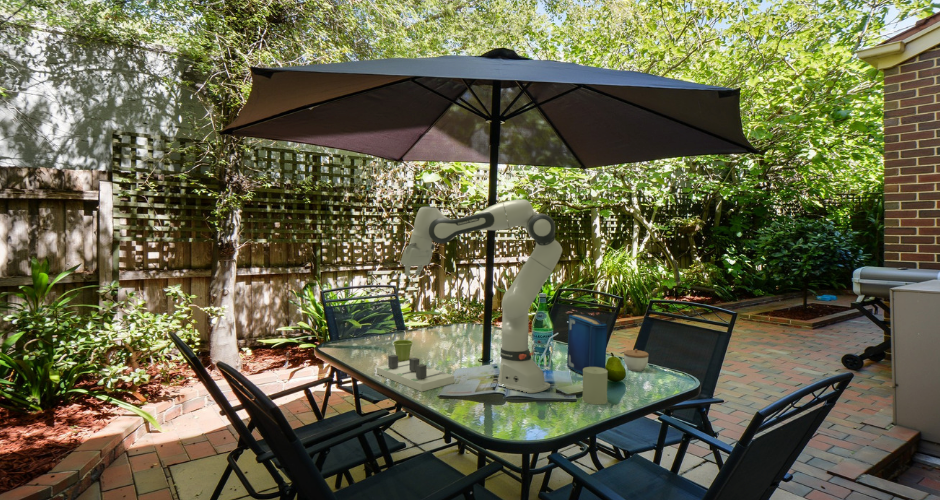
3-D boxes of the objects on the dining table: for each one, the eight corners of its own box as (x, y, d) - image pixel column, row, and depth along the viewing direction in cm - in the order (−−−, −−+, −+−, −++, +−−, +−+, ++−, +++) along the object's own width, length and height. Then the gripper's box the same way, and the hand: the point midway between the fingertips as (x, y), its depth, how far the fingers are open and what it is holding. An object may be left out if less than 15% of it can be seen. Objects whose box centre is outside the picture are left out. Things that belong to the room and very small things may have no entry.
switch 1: (398, 367, 222) (398, 356, 222) (392, 368, 220) (392, 357, 220) (394, 365, 225) (394, 354, 224) (388, 367, 223) (388, 355, 222)
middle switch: (419, 370, 218) (419, 358, 218) (413, 371, 216) (413, 360, 215) (415, 369, 220) (415, 357, 220) (409, 370, 218) (409, 358, 218)
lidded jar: (643, 366, 239) (644, 346, 239) (651, 372, 229) (651, 352, 228) (620, 366, 240) (621, 346, 239) (627, 372, 229) (627, 351, 229)
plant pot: (416, 359, 250) (416, 341, 249) (404, 363, 242) (404, 345, 241) (401, 356, 254) (401, 339, 254) (389, 360, 246) (389, 342, 246)
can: (583, 403, 188) (583, 371, 188) (581, 395, 197) (581, 364, 197) (608, 405, 187) (609, 372, 186) (605, 396, 196) (606, 366, 196)
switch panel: (454, 382, 212) (454, 375, 212) (421, 391, 201) (421, 383, 200) (408, 366, 235) (408, 360, 235) (376, 374, 224) (376, 366, 224)
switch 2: (426, 377, 208) (426, 365, 207) (420, 379, 206) (420, 366, 205) (421, 375, 210) (422, 363, 210) (416, 377, 208) (416, 365, 208)
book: (608, 379, 218) (609, 321, 217) (594, 381, 215) (595, 322, 214) (579, 366, 238) (580, 313, 237) (566, 368, 235) (567, 314, 234)
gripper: (415, 244, 203) (407, 278, 204) (436, 246, 222) (429, 276, 223) (401, 240, 205) (393, 274, 206) (424, 242, 224) (416, 272, 225)
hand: (412, 275), depth 215 cm, fingers open, 8 cm apart
